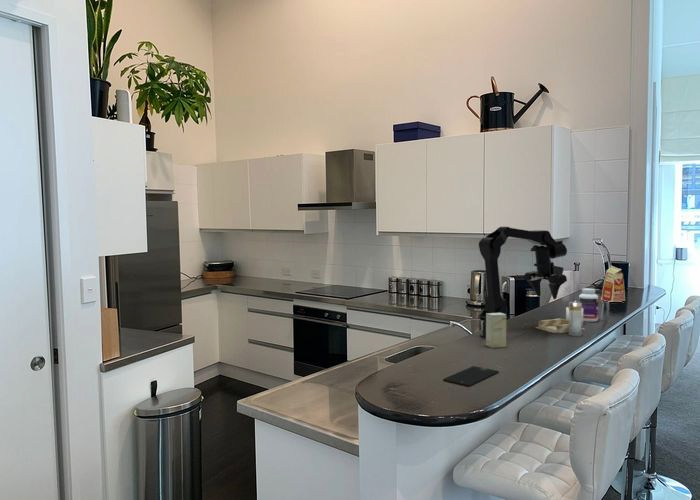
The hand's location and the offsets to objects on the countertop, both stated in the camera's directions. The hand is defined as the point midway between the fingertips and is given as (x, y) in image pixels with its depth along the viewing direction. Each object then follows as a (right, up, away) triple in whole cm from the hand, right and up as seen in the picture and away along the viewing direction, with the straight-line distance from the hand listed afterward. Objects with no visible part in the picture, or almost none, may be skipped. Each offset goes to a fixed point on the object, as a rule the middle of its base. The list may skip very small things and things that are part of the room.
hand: (546, 297), depth 215 cm
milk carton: (+64, -9, +71) cm, 96 cm away
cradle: (+7, -14, +4) cm, 16 cm away
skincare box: (-28, -16, -23) cm, 40 cm away
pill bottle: (+27, -13, +21) cm, 36 cm away
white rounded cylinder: (+18, -13, +14) cm, 26 cm away
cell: (+9, -14, -7) cm, 18 cm away
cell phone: (-45, -19, -59) cm, 77 cm away
